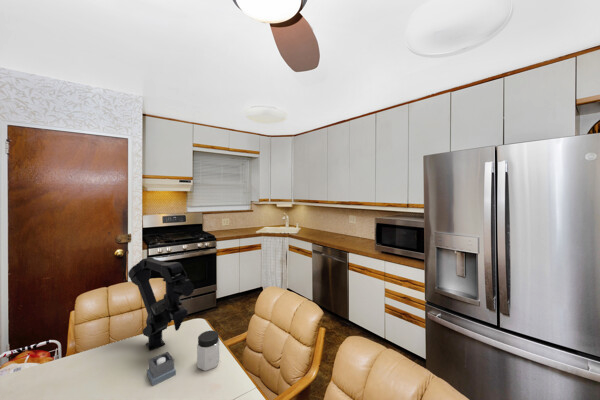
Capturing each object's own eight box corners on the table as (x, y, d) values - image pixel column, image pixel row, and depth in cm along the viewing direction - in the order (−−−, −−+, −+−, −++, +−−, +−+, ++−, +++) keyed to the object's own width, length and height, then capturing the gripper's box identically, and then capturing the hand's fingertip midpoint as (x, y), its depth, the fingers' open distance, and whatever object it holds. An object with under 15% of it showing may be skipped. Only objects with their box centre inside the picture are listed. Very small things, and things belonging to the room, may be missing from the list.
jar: (199, 373, 97) (199, 344, 97) (195, 362, 104) (195, 334, 104) (222, 365, 102) (222, 337, 102) (216, 354, 109) (216, 328, 109)
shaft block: (146, 374, 97) (146, 359, 97) (168, 364, 103) (168, 350, 102) (152, 385, 91) (152, 369, 91) (175, 374, 97) (175, 359, 97)
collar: (167, 361, 102) (167, 351, 102) (173, 369, 97) (173, 359, 97) (148, 369, 97) (148, 359, 97) (153, 378, 92) (153, 368, 92)
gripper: (146, 290, 110) (146, 325, 111) (159, 304, 97) (159, 342, 98) (173, 284, 118) (173, 316, 119) (188, 295, 105) (188, 331, 106)
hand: (173, 326), depth 110 cm, fingers open, 9 cm apart
